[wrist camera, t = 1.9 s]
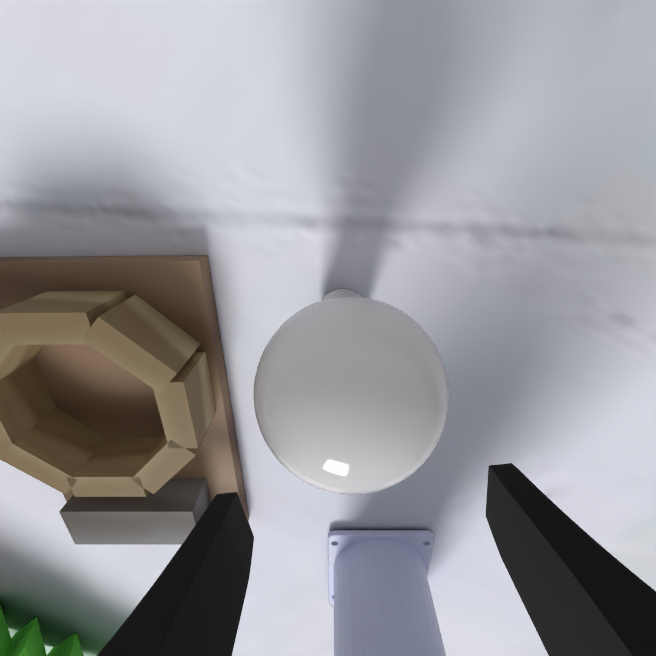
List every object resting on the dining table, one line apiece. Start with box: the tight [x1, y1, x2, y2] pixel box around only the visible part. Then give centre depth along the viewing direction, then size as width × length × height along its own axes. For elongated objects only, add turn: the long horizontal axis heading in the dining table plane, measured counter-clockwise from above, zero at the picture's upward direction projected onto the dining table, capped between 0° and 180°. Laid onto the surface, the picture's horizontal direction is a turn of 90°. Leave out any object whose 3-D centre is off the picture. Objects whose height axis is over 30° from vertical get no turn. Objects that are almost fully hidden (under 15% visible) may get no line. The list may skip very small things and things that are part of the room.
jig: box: [0, 255, 249, 544], centre depth 20 cm, size 20×12×4 cm, turn 1°
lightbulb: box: [254, 289, 449, 495], centre depth 14 cm, size 6×6×11 cm
